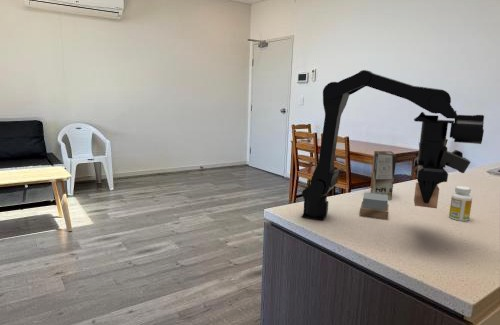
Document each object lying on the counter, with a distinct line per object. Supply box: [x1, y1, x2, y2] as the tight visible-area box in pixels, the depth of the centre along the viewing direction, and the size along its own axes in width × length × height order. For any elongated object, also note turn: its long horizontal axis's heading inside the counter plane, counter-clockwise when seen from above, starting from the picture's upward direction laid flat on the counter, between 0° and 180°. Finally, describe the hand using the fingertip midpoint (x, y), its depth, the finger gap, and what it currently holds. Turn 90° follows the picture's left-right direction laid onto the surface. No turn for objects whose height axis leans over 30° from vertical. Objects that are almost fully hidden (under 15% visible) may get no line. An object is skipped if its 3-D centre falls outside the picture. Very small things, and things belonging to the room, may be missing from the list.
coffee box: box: [370, 150, 397, 201], centre depth 129 cm, size 9×6×16 cm
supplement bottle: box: [448, 185, 473, 222], centre depth 108 cm, size 5×5×10 cm
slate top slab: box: [362, 192, 389, 211], centre depth 110 cm, size 7×7×3 cm
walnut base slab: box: [359, 200, 390, 221], centre depth 111 cm, size 8×8×3 cm
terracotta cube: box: [413, 181, 440, 209], centre depth 91 cm, size 5×5×5 cm
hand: (425, 200), depth 92 cm, fingers closed on terracotta cube, 5 cm apart
